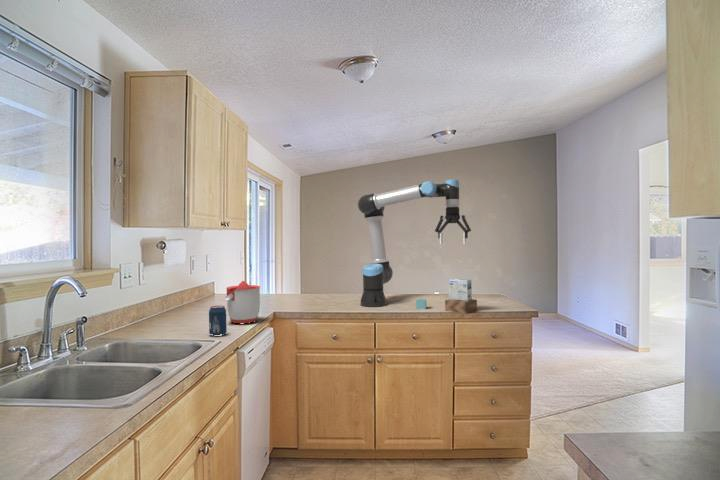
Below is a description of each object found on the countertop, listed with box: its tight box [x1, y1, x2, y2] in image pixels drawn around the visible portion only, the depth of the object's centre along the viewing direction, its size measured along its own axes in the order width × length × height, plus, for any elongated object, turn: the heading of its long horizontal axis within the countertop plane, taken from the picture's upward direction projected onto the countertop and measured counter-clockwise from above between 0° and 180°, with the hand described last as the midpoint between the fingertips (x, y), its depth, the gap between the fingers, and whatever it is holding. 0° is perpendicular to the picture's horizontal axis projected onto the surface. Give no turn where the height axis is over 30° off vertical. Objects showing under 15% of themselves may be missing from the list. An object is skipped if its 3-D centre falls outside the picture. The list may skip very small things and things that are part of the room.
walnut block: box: [444, 299, 478, 314], centre depth 234 cm, size 12×12×6 cm
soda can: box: [208, 305, 228, 335], centre depth 185 cm, size 7×7×12 cm
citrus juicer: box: [223, 280, 261, 324], centre depth 210 cm, size 16×17×20 cm
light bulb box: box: [448, 278, 473, 301], centre depth 235 cm, size 11×7×11 cm, turn 57°
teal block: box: [415, 298, 427, 310], centre depth 242 cm, size 5×5×5 cm
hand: (452, 244), depth 250 cm, fingers open, 13 cm apart
